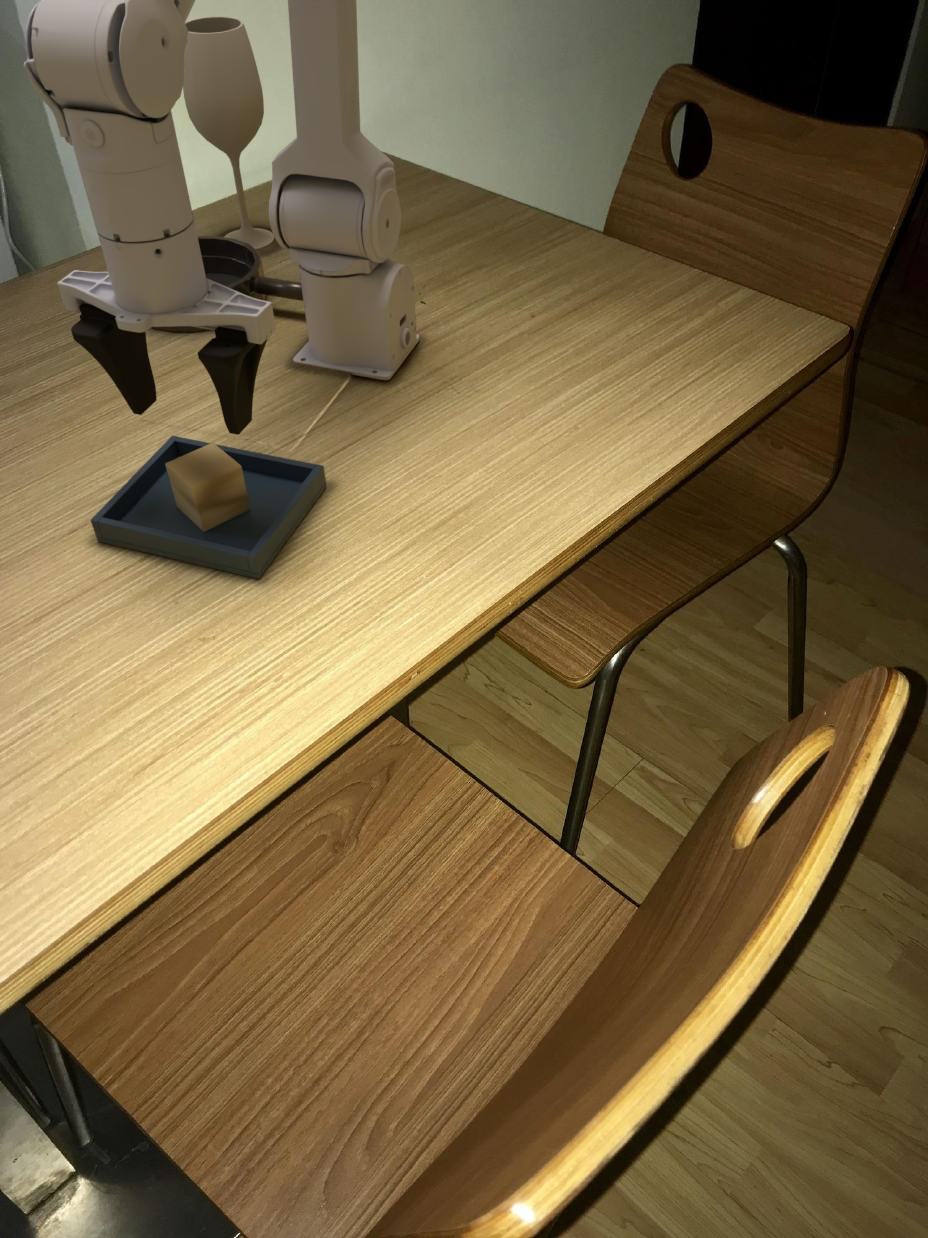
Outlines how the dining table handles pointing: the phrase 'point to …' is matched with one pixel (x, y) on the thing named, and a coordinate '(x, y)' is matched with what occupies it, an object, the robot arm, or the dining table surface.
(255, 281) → the pan handle
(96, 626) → the dining table surface
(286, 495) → the tray
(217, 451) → the cube
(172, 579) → the dining table surface
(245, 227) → the wineglass
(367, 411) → the dining table surface
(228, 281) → the pan
